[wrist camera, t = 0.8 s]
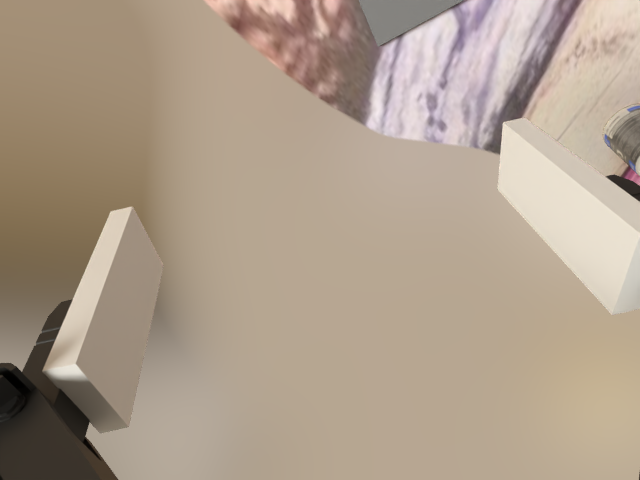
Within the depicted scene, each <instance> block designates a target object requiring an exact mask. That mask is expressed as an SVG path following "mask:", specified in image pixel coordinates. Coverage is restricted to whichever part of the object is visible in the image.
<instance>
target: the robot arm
mask: <svg viewBox="0 0 640 480" xmlns="http://www.w3.org/2000/svg"><path fill="white" fill-rule="evenodd" d="M498 191H499V192H500V193H501V194H502V195H503V196H504V197H505V198H506V199H507V200H508V202H509V203H510V204H511V205H512V206H513V207H514V208H515V209H516V210H517V211H518V213H519V214H520V215H521V216H522V217H523V218H524V219H525V220H526V221H527V222H528V223H529V224H530V226H531V227H532V228H533V229H534V230H535V231H536V232H537V233H538V234H539V235H540V237H541V238H542V239H543V240H544V241H545V242H546V243H547V244H548V245H549V246H550V247H551V249H552V250H553V251H554V252H555V253H556V254H557V255H558V256H559V257H560V258H561V259H562V260H563V262H564V263H565V264H566V265H567V266H568V267H569V268H570V269H571V270H572V271H573V273H575V275H576V276H577V277H578V278H579V279H580V280H581V281H582V282H583V284H584V285H585V286H586V287H587V288H588V289H589V290H590V291H591V292H592V293H593V294H594V295H595V297H596V298H597V299H598V300H599V301H600V302H601V303H602V304H603V305H604V306H605V308H607V310H608V311H609V312H610V313H611V314H612V315H615V314H619V313H624V312H628V311H632V310H637V309H640V186H639V185H637V184H636V183H635V182H633V181H630V180H628V179H625V178H622V177H619V176H617V175H610V176H606V177H605V176H604V175H602V174H601V173H600V172H598V171H597V170H596V169H594V168H593V167H591V166H590V165H589V164H587V163H586V162H585V161H583V160H582V159H581V158H579V157H578V156H576V155H575V154H574V153H572V152H571V151H570V150H568V149H567V148H566V147H564V146H563V145H561V144H560V143H559V142H557V141H556V140H555V139H553V138H552V137H551V136H549V135H548V134H547V133H545V132H544V131H542V130H541V129H540V128H538V127H537V126H536V125H534V124H533V123H532V122H530V121H529V120H527V119H526V118H520V119H516V120H511V121H507V122H503V131H502V142H501V154H500V165H499V178H498ZM162 270H163V264H162V262H161V260H160V258H159V256H158V254H157V252H156V250H155V248H154V246H153V244H152V243H151V241H150V239H149V237H148V235H147V233H146V231H145V229H144V227H143V225H142V223H141V222H140V220H139V218H138V216H137V214H136V212H135V210H134V208H133V207H128V208H124V209H120V210H115V211H111V212H110V215H109V217H108V219H107V222H106V224H105V226H104V229H103V231H102V233H101V235H100V238H99V240H98V242H97V245H96V247H95V249H94V252H93V254H92V256H91V259H90V261H89V264H88V266H87V268H86V270H85V273H84V275H83V277H82V280H81V282H80V285H79V287H78V289H77V291H76V294H75V296H74V299H72V300H68V301H64V302H61V303H60V304H59V305H58V306H57V307H56V308H55V310H54V311H53V312H52V313H51V314H50V315H49V316H48V318H47V321H46V322H45V325H44V327H43V329H42V334H40V335H39V337H38V339H37V342H36V346H34V348H33V350H32V352H31V354H30V356H29V358H28V361H27V363H26V365H25V367H24V369H23V371H22V372H21V371H20V370H19V369H18V368H17V367H16V366H14V365H13V364H11V363H0V480H118V479H117V477H116V476H115V475H114V473H113V472H112V470H111V469H110V468H109V466H108V465H107V464H106V462H105V461H104V459H103V458H102V457H101V455H100V454H99V453H98V451H97V450H96V449H95V447H94V446H93V445H92V443H91V442H90V441H89V440H88V439H87V438H86V437H85V435H86V432H87V429H88V425H89V422H90V423H91V424H92V425H93V426H94V427H95V428H96V429H97V430H98V432H99V433H104V432H108V431H113V430H117V429H121V428H126V427H129V423H130V419H131V414H132V410H133V405H134V400H135V396H136V391H137V386H138V382H139V377H140V373H141V368H142V363H143V359H144V354H145V349H146V344H147V340H148V335H149V331H150V326H151V322H152V317H153V312H154V308H155V303H156V298H157V294H158V289H159V285H160V280H161V275H162ZM639 480H640V474H639Z"/></svg>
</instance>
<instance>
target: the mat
mask: <svg viewBox="0 0 640 480" xmlns="http://www.w3.org/2000/svg"><path fill="white" fill-rule="evenodd" d="M461 1H463V0H359V2H360V5H361V7H362V9H363V12H364V14H365V16H366V19H367V21H368V24H369V26H370V28H371V31H372V33H373V35H374V38H375V40H376V43H377V45H378V46H380V45H382V44H384V43H386V42H388V41H389V40H391V39H393V38H395V37H397V36H399V35H400V34H402V33H404V32H406V31H408V30H410V29H412V28H413V27H415V26H417V25H419V24H421V23H423V22H424V21H426V20H428V19H430V18H432V17H434V16H435V15H437V14H439V13H441V12H443V11H445V10H447V9H448V8H450V7H452V6H454V5H456V4H458V3H459V2H461Z"/></svg>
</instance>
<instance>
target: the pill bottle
mask: <svg viewBox="0 0 640 480" xmlns="http://www.w3.org/2000/svg"><path fill="white" fill-rule="evenodd" d="M603 139H604V141H605V143H606V144H607V145H608V146H609V147H610V148H611V149H612V150H613V151H614V152H615V153H616V154H617V155H618V156H619V157H620V158H621V159H622V160H624V161H625V162H626V163H627V164H628V165H629V166H630V167H631V168H632V169H633V170H634V171H635V172H636V173H637V174H638V175H639V176H640V104H635V105H631V106H628V107H626V108H623V109H622V110H620V111H618V112H617V113H616V114H615V115H614V116H613V117H612V118H611V119H610V120H609V121H608V123H607V124H606V126H605V128H604V131H603Z"/></svg>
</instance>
